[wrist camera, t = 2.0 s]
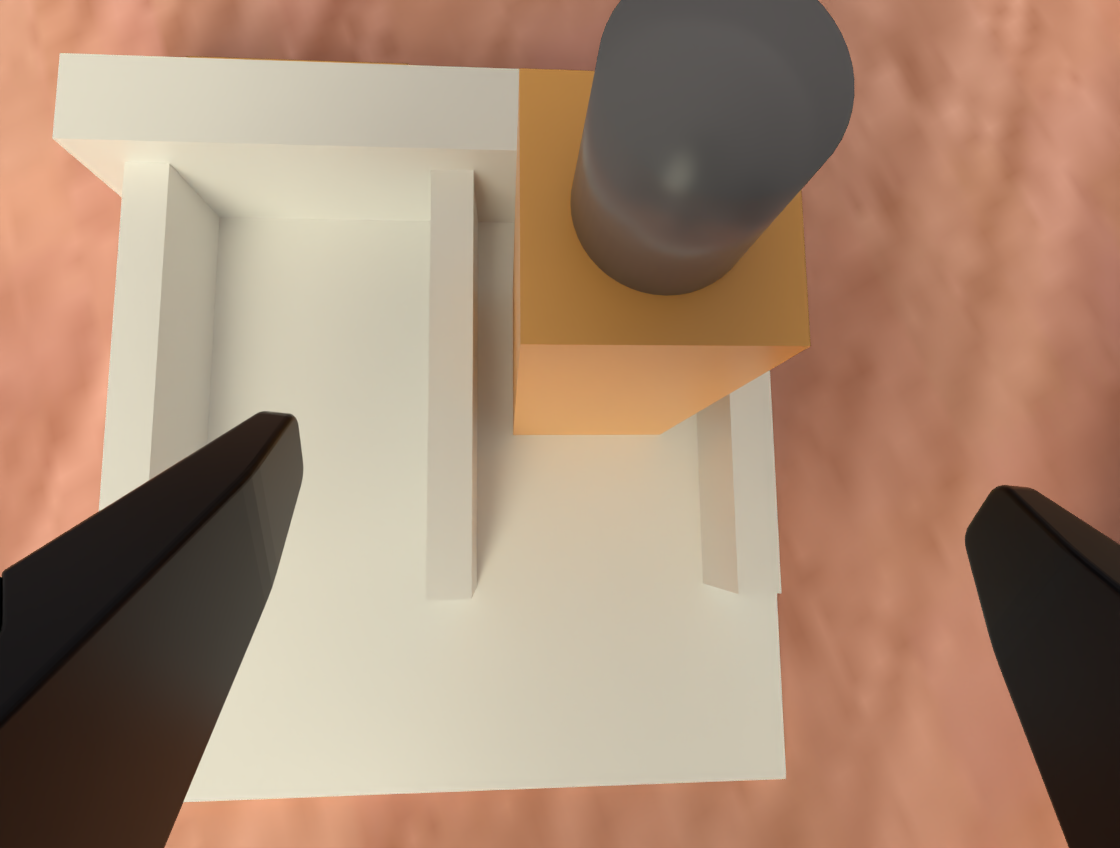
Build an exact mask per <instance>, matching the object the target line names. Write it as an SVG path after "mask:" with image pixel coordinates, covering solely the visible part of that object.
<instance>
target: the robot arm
mask: <svg viewBox="0 0 1120 848" xmlns="http://www.w3.org/2000/svg"><path fill="white" fill-rule="evenodd" d="M303 469H304V466H303V457H302V449H301V441H300V433H299V425H298V421H297V419H296V417H295V416H294V415H292V414H290V413H281V412H271V411H261V412H258V413H256V414H255V415H253V416H251V417H250V418H248V419H247V420H245V421H243V422H242V423H240V424H239V425H237V426H235V427H234V428H232V429H231V430H229V431H227V432H226V433H224V434H222V435H221V436H219V437H218V438H216V439H214V440H213V441H211V442H210V443H208V444H206V445H205V446H203V447H202V448H200V449H198V450H197V451H195V452H194V453H192V454H190V455H189V456H187V457H186V458H184V459H182V460H181V461H179V462H177V463H176V464H174V465H173V466H171V467H169V468H168V469H166V470H165V471H163V472H161V473H160V474H158V475H157V476H155V477H153V478H152V479H150V480H149V481H147V482H145V483H144V484H142V485H141V486H139V487H137V488H136V489H134V490H132V491H131V492H129V493H128V494H126V495H124V496H123V497H121V498H120V499H118V500H116V501H115V502H113V503H112V504H110V505H108V506H107V507H105V508H104V509H102V510H100V511H99V512H97V513H96V514H94V515H92V516H91V517H89V518H88V519H86V520H84V521H83V522H81V523H79V524H78V525H76V526H75V527H73V528H71V529H70V530H68V531H67V532H65V533H63V534H62V535H60V536H59V537H57V538H55V539H54V540H52V541H51V542H49V543H47V544H46V545H44V546H43V547H41V548H39V549H38V550H36V551H34V552H33V553H31V554H30V555H28V556H26V557H25V558H23V559H22V560H20V561H18V562H17V563H15V564H14V565H12V566H10V567H9V568H7V569H6V570H4V571H3V572H2V578H1V577H0V848H164V847H165V845H166V842H167V840H168V838H169V835H170V833H171V830H172V828H173V826H174V823H175V821H176V818H177V816H178V814H179V811H180V809H181V806H182V804H183V802H184V799H185V797H186V794H187V792H188V790H189V787H190V785H191V782H192V780H193V778H194V775H195V773H196V770H197V768H198V766H199V763H200V761H201V758H202V756H203V754H204V751H205V749H206V747H207V744H208V742H209V739H210V737H211V735H212V732H213V730H214V727H215V725H216V723H217V720H218V718H219V715H220V713H221V711H222V708H223V706H224V703H225V701H226V699H227V696H228V694H229V691H230V689H231V687H232V684H233V682H234V679H235V677H236V675H237V672H238V670H239V667H240V665H241V663H242V660H243V658H244V656H245V653H246V651H247V648H248V646H249V644H250V641H251V639H252V636H253V634H254V632H255V629H256V627H257V624H258V622H259V620H260V617H261V615H262V612H263V610H264V608H265V605H266V603H267V600H268V597H269V595H270V592H271V590H272V587H273V584H274V580H275V577H276V574H277V570H278V567H279V563H280V560H281V556H282V552H283V549H284V545H285V542H286V538H287V534H288V531H289V527H290V524H291V520H292V516H293V513H294V509H295V506H296V502H297V498H298V495H299V491H300V488H301V484H302V479H303ZM965 546H966V551H967V554H968V558H969V562H970V566H971V570H972V573H973V577H974V581H975V585H976V588H977V592H978V596H979V600H980V603H981V607H982V611H983V615H984V618H985V622H986V626H987V630H988V633H989V637H990V640H991V643H992V647H993V650H994V653H995V656H996V659H997V661H998V664H999V667H1000V670H1001V672H1002V675H1003V677H1004V680H1005V683H1006V685H1007V688H1008V690H1009V693H1010V696H1011V698H1012V701H1013V703H1014V706H1015V709H1016V711H1017V714H1018V716H1019V719H1020V722H1021V724H1022V727H1023V730H1024V732H1025V735H1026V737H1027V740H1028V743H1029V745H1030V748H1031V750H1032V753H1033V756H1034V758H1035V761H1036V763H1037V766H1038V769H1039V771H1040V774H1041V776H1042V779H1043V782H1044V784H1045V787H1046V789H1047V792H1048V795H1049V797H1050V800H1051V802H1052V805H1053V808H1054V810H1055V813H1056V815H1057V818H1058V821H1059V823H1060V826H1061V828H1062V831H1063V834H1064V836H1065V839H1066V841H1067V844H1068V847H1069V848H1120V545H1119V544H1118V543H1116V542H1115V541H1113V540H1112V539H1110V538H1109V537H1107V536H1105V535H1104V534H1102V533H1101V532H1099V531H1098V530H1096V529H1095V528H1093V527H1092V526H1090V525H1089V524H1087V523H1085V522H1084V521H1082V520H1081V519H1079V518H1078V517H1076V516H1075V515H1073V514H1072V513H1070V512H1068V511H1067V510H1065V509H1064V508H1062V507H1061V506H1059V505H1058V504H1056V503H1055V502H1053V501H1052V500H1050V499H1048V498H1047V497H1045V496H1044V495H1042V494H1041V493H1039V492H1038V491H1036V490H1034V489H1031V488H1028V487H1019V486H1009V485H1002V486H998V487H996V488H995V489H993V490H992V491H991V492H990V494H989V495H988V497H987V498H986V500H985V501H984V503H983V504H982V506H981V508H980V509H979V511H978V512H977V514H976V515H975V517H974V518H973V520H972V522H971V523H970V525H969V526H968V528H967V531H966V535H965Z"/></svg>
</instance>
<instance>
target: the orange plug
mask: <svg viewBox="0 0 1120 848" xmlns="http://www.w3.org/2000/svg"><path fill="white" fill-rule="evenodd" d="M853 101H854V74H853V67H852V62H851V58H850V55H849V51H848V48H847V45H846V43H845V41H844V38H843V36H842V34H841V32H840V30H839V28H838V27H837V25H836V23H835V21H834V20H833V18H832V17H831V16H830V14H829V13H828V12H827V10H826V9H825V8H824V6H823V5H822V4H821V3H820V2H819V1H818V0H621V1H620V2H619V4H618V5H617V6H616V8H615V9H614V11H613V12H612V14H611V16H610V18H609V20H608V22H607V24H606V27H605V29H604V32H603V35H602V38H601V42H600V47H599V52H598V57H597V62H596V68H595V71H583V70H554V69H525V68H519V92H518V126H517V160H516V194H515V228H514V262H513V435H660V434H662V433H663V432H665V431H667V430H669V429H670V428H672V427H674V426H675V425H677V424H679V423H680V422H682V421H684V420H686V419H687V418H689V417H691V416H692V415H694V414H696V413H698V412H699V411H701V410H703V409H704V408H706V407H708V406H709V405H711V404H713V403H715V402H716V401H718V400H720V399H721V398H723V397H725V396H727V395H728V394H730V393H732V392H733V391H735V390H737V389H738V388H740V387H742V386H744V385H745V384H747V383H749V382H750V381H752V380H754V379H756V378H757V377H759V376H761V375H762V374H764V373H766V372H767V371H769V370H771V369H773V368H774V367H776V366H778V365H779V364H781V363H783V362H785V361H786V360H788V359H790V358H791V357H793V356H795V355H796V354H798V353H800V352H802V351H803V350H805V349H807V348H808V347H810V346H811V345H810V328H809V311H808V294H807V278H806V261H805V244H804V227H803V211H802V194H801V189H802V188H803V187H804V186H805V185H806V183H807V182H808V181H809V180H810V179H811V178H812V177H813V176H814V174H815V173H816V172H817V171H818V170H819V169H820V168H821V166H822V165H823V164H824V163H825V162H826V161H827V159H828V158H829V157H830V156H831V155H832V154H833V152H834V151H835V149H836V148H837V146H838V145H839V143H840V141H841V140H842V138H843V135H844V133H845V131H846V129H847V126H848V123H849V120H850V116H851V113H852V108H853Z"/></svg>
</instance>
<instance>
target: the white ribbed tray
mask: <svg viewBox="0 0 1120 848" xmlns="http://www.w3.org/2000/svg"><path fill="white" fill-rule="evenodd" d="M518 92H519V69H508V68H479V67H450V66H421V65H408V64H401V63H372V62H343V61H314V60H285V59H256V58H227V57H198V56H186V57H159V56H129V55H100V54H71V53H60V58H59V70H58V81H57V92H56V104H55V115H54V127H53V139H54V140H55V141H56V142H57V143H58V144H60V145H61V146H62V147H63V148H64V149H65V150H67V151H68V152H69V153H70V154H71V155H72V156H74V157H75V158H76V159H77V160H78V161H80V162H81V163H82V164H83V165H84V166H85V167H87V168H88V169H89V170H90V171H91V172H92V173H94V174H95V175H96V176H97V177H98V178H99V179H101V180H102V181H103V182H104V183H105V184H106V185H108V186H109V187H110V188H111V189H112V190H114V191H115V192H116V193H117V194H118V195H119V196H121V197H122V203H121V217H120V230H119V244H118V257H117V271H116V285H115V298H114V312H113V326H112V339H111V353H110V366H109V380H108V394H107V407H106V421H105V435H104V448H103V462H102V475H101V489H100V503H99V511H100V510H102V509H104V508H105V507H107V506H108V505H110V504H112V503H113V502H115V501H116V500H118V499H120V498H121V497H123V496H124V495H126V494H128V493H129V492H131V491H132V490H134V489H136V488H137V487H139V486H141V485H142V484H144V483H145V482H147V481H149V480H150V479H152V478H153V477H155V476H157V475H158V474H160V473H161V472H163V471H165V470H166V469H168V468H169V467H171V466H173V465H174V464H176V463H177V462H179V461H181V460H182V459H184V458H186V457H187V456H189V455H190V454H192V453H194V452H195V451H197V450H198V449H200V448H202V447H203V446H205V445H206V444H208V443H210V442H211V441H213V440H214V439H216V438H218V437H219V436H221V435H222V434H224V433H226V432H227V431H229V430H231V429H232V428H234V427H235V426H237V425H239V424H240V423H242V422H243V421H245V420H247V419H248V418H250V417H251V416H253V415H255V414H256V413H258V412H261V411H271V412H281V413H290V414H292V415H294V416H295V417H296V419H297V421H298V425H299V433H300V441H301V449H302V457H303V466H304V469H303V479H302V484H301V488H300V491H299V495H298V498H297V502H296V506H295V509H294V513H293V516H292V520H291V524H290V527H289V531H288V534H287V538H286V542H285V545H284V549H283V552H282V556H281V560H280V563H279V567H278V570H277V574H276V577H275V580H274V584H273V587H272V590H271V592H270V595H269V597H268V600H267V603H266V605H265V608H264V610H263V612H262V615H261V617H260V620H259V622H258V624H257V627H256V629H255V632H254V634H253V636H252V639H251V641H250V644H249V646H248V648H247V651H246V653H245V656H244V658H243V660H242V663H241V665H240V667H239V670H238V672H237V675H236V677H235V679H234V682H233V684H232V687H231V689H230V691H229V694H228V696H227V699H226V701H225V703H224V706H223V708H222V711H221V713H220V715H219V718H218V720H217V723H216V725H215V727H214V730H213V732H212V735H211V737H210V739H209V742H208V744H207V747H206V749H205V751H204V754H203V756H202V758H201V761H200V763H199V766H198V768H197V770H196V773H195V775H194V778H193V780H192V782H191V785H190V787H189V790H188V792H187V794H186V797H185V799H184V802H199V801H225V800H251V799H277V798H303V797H329V796H355V795H380V794H406V793H432V792H458V791H484V790H510V789H536V788H562V787H588V786H613V785H639V784H665V783H691V782H717V781H743V780H769V779H786V765H785V745H784V726H783V706H782V686H781V667H780V647H779V627H778V608H777V593H781V574H780V554H779V535H778V516H777V496H776V477H775V458H774V438H773V419H772V400H771V380H770V370H769V371H767V372H766V373H764V374H762V375H761V376H759V377H757V378H756V379H754V380H752V381H750V382H749V383H747V384H745V385H744V386H742V387H740V388H738V389H737V390H735V391H733V392H732V393H730V394H728V395H727V396H725V397H723V398H721V399H720V400H718V401H716V402H715V403H713V404H711V405H709V406H708V407H706V408H704V409H703V410H701V411H699V412H698V413H696V414H694V415H692V416H691V417H689V418H687V419H686V420H684V421H682V422H680V423H679V424H677V425H675V426H674V427H672V428H670V429H669V430H667V431H665V432H663V433H662V434H660V435H513V262H514V228H515V194H516V160H517V126H518Z"/></svg>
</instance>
